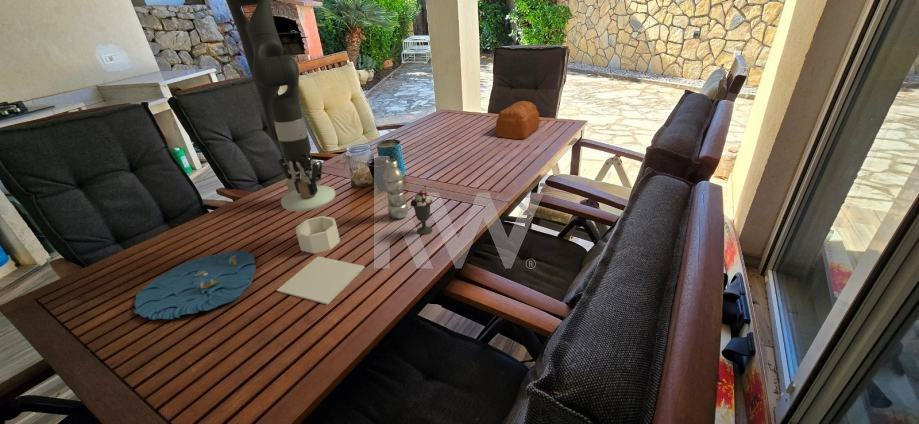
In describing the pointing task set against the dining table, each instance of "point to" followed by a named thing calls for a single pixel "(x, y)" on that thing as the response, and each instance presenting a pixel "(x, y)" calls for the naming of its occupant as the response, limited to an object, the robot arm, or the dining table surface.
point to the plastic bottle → (395, 190)
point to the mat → (321, 280)
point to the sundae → (422, 211)
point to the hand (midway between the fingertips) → (307, 193)
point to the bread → (518, 121)
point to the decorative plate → (197, 285)
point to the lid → (307, 198)
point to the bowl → (317, 234)
